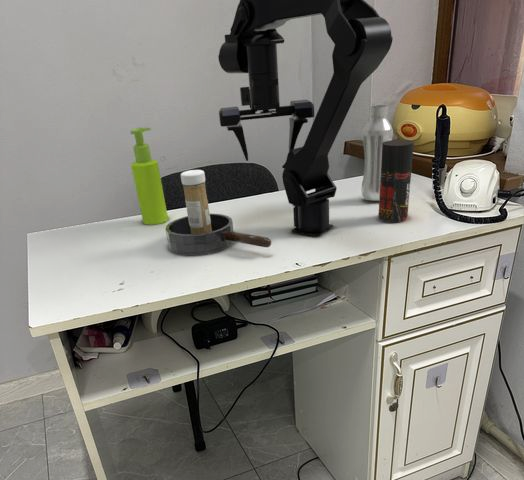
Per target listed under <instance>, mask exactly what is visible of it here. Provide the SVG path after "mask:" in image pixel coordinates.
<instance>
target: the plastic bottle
mask: <svg viewBox="0 0 524 480" xmlns="http://www.w3.org/2000/svg"><path fill="white" fill-rule="evenodd" d="M368 116H369V117H370V119H369V120H368V121H367V123H366V125H365V126H364V128H363V130H362V142H363V143H362V144H363V154H364V155H363V156H364V166H363V176H362V177H363V179H362V182H361V186H360V187H361V188H360V191H361V196H362V198H363V199H364V200H366V201H373V202H374V201H375V202H377V201H378V202H379V198H380V179H381V161H382V143H383V142H386V141H391V140H393V137H394V130H393V126H392V125H391V122H390V121H389V120H388V118H387V116H389V105H387V104H378V105H371V106H370V108H369V115H368Z"/></svg>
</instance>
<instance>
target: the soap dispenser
mask: <svg viewBox="0 0 524 480" xmlns="http://www.w3.org/2000/svg"><path fill="white" fill-rule="evenodd" d="M151 129H152V127H148V126H146V127H135V128H134V129H132V130H130V134H131V135H134V140H135V144H134V146H133V147H132V149H133V153H134V154H133V155H134V158H135V161H134V162H132V163H130V166H131V171H132V177H133V183H134V185H135V190H136V191H135V192H136V195H137V199H138V204H139V209H140V214H141V219H142V223H143V224H144V225H148V226H149V225H160V224H163V223H166V222H167V221H168V220H169V216H168V211H167V204H166V199H165V193H164V187H163V183H162V177H161V172H160V167H159V161H158V160H157V159H152V155H151V150H150V145H149V144H148V143H146V142H145V140H144V135H143V133H144V132H145V131H146V132H147V131H151Z"/></svg>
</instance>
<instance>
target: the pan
mask: <svg viewBox="0 0 524 480" xmlns="http://www.w3.org/2000/svg"><path fill="white" fill-rule="evenodd" d="M210 219H211V228H212V232H208V233H203V234H194V235H191V229H190V225H189V220H188V215H187V216H183V217H179V218H177V219H176V218H175V219H174V220H172V221H170V222H169V223H168V224H167V225H166V226H165V234H166V239H167V240H166V241H167V245H168V249H169V250H170V251H171V252H172V253H174V254H177V255H180V256H203V255H204V256H205V255H211V254H215V253H218V252H221V251H224V250H225V249H227V248H229V247H231V246H232V245H233V244H234V243H235V242H233V241H228V240H227V241H225V242H223V241H222V235H221V232H224V231H226V230H228V229H230V231H232V232H235V231H234V230H235V229H234V223H233V218H232V217H230V216H229V215H225V214H222V213H210Z"/></svg>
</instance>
